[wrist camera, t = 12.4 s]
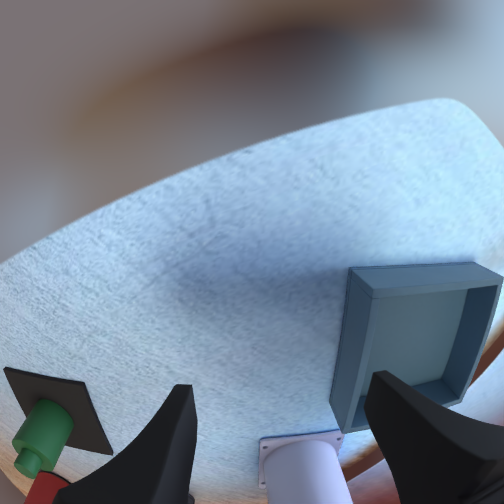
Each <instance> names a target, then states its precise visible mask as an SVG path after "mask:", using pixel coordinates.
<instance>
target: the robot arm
mask: <svg viewBox="0 0 504 504" xmlns="http://www.w3.org/2000/svg"><path fill="white" fill-rule="evenodd" d="M363 408H364V411H365V415H366V418H367V421H368V424H369V427H370V429H371V431H372V433H373V435H374V437H375V439H376V441H377V443H378V445H379V447H380V449H381V451H382V453H383V455H384V457H385V459H386V461H387V463H388V465H389V468H390V470H391V472H392V475H393V478H394V481H395V484H396V488H397V491H398V495H399V498H400V502H401V504H504V426H499V425H494V424H489V423H485V422H481V421H478V420H475V419H472V418H469V417H466V416H463V415H461V414H459V413H456V412H454V411H452V410H450V409H448V408H446V407H444V406H442V405H440V404H438V403H436V402H435V401H433V400H431V399H429V398H428V397H426V396H424V395H423V394H421V393H420V392H418V391H417V390H415V389H414V388H412V387H411V386H409V385H408V384H406V383H405V382H403V381H402V380H400V379H399V378H397V377H396V376H394V375H393V374H391V373H390V372H388V371H387V370H383V371H377V372H373V374H372V378H371V382H370V385H369V389H368V393H367V396H366V400H365V403H364V407H363ZM344 435H345V434H342V433H341V430H337V431H331V432H324V433H317V434H309V435H300V436H290V437H279V438H265V439H262V440H260V446H259V479H258V487H259V488H260V489H266V490H267V498H268V504H353V502H352V499H351V496H350V493H349V490H348V487H347V485H346V482H345V479H344V476H343V473H342V470H341V467H340V464H339V461H338V458H337V457H338V454H339V451H340V448H341V445H342V442H343V438H344ZM196 442H197V414H196V408H195V401H194V395H193V388H192V385H185V384H176V385H175V386H174V387H173V389H172V391H171V392H170V394H169V395H168V397H167V399H166V400H165V402H164V403H163V404H162V406H161V407H160V409H159V410H158V411H157V413H156V414H155V415H154V417H153V418H152V419H151V421H150V422H149V423H148V424H147V425H146V427H145V428H144V429H143V430H142V431H141V432H140V434H139V435H138V436H137V437H136V438H135V439H134V440H133V441H132V442H131V443H130V444H129V445H128V446H127V447H126V448H125V449H124V450H122V451H121V452H120V453H119V454H118V455H116V456H115V457H114V458H113V459H112V460H110V461H109V462H108V463H106V464H105V465H103V466H102V467H100V468H99V469H97V470H96V471H94V472H93V473H91V474H89V475H88V476H86V477H84V478H82V479H81V480H79V481H76V482H74V483H72V484H70V485H68V486H66V487H64V488H61V489H59V490H58V492H57V494H56V495H55V497H54V499H53V502H52V504H188V493H189V484H190V478H191V472H192V466H193V460H194V455H195V449H196Z"/></svg>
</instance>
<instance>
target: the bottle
mask: <svg viewBox="0 0 504 504" xmlns="http://www.w3.org/2000/svg"><path fill="white" fill-rule="evenodd" d="M73 427H74V423H73V420H72V418H71V416H70V415H69V414H68V412H67V411H66V410H65V409H63V408H62V407H61V406H60V405H58V404H57V403H55V402H53V401H50V400H47V399H40V400H38V402H37V403H36V404H35V406H34V407H33V409H32V410H31V412H30V413H29V415H28V417H27V418H26V420H25V421H24V423H23V424H22V426H21V427H20V429H19V431H18V432H17V434H16V435H15V437H14V439H13V440H12V445H13V447H14V449H15V450H16V452H17V453H18V454H19V455H18V457H17V458H16V460H15V462H14V466H15V468H16V469H17V470H18V471H19V472H21V473H22V474H23V475H25V476H26V477H28V478H31V479H35V478H36V476H37V474H38V472H39V470H40V469H41V470H43V471H53V469H54V467H55V465H56V463H57V461H58V458H59V456H60V454H61V452H62V450H63V448H64V446H65V444H66V441H67V439H68V437H69V435H70V433H71V431H72V429H73Z"/></svg>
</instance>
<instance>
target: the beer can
mask: <svg viewBox="0 0 504 504" xmlns="http://www.w3.org/2000/svg"><path fill="white" fill-rule="evenodd" d="M68 485H70V484H69V483H68V482H67V481H65V480H64V479H62V478H60V477H58V476H56V475H54V474H52V473H49V472H39V473H38V474H37V476H36V478H35V480H34V482H33V484H32V487H31V489H30V491H29V493H28V495H27V498H26V500H25V502H24V504H52V502H53V499H54V497H55V495H56V494H57V492H58V490H59V489H61V488H64V487H66V486H68Z"/></svg>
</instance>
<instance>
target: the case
mask: <svg viewBox="0 0 504 504" xmlns="http://www.w3.org/2000/svg"><path fill="white" fill-rule="evenodd" d="M503 279H504V277H503V276H501V275H499V274H497V273H495V272H493V271H491V270H489V269H487V268H485V267H483V266H481V265H479V264H477V263H475V262H465V263H445V264H424V265H401V266H376V267H350V268H349V276H348V285H347V294H346V303H345V310H344V318H343V325H342V332H341V339H340V346H339V352H338V358H337V364H336V370H335V375H334V381H333V386H332V391H331V396H330V401H329V403H330V405H331V408H332V410H333V413H334V415H335V418H336V420H337V423H338V425H339V428H340V430H341V433H342V434H347V433H352V432H357V431H362V430H367V429H370V427H369V424H368V421H367V418H366V415H365V411H364V408H363V407H364V403H365V400H366V396H367V393H368V389H369V385H370V382H371V378H372V374H373V372H377V371H383V370H387V371H388V372H390V373H391V374H393V375H394V376H396V377H397V378H399V379H400V380H402V381H403V382H405V383H406V384H408V385H409V386H411V387H412V388H414V389H415V390H417V391H418V392H420V393H421V394H423V395H424V396H426V397H428V398H429V399H431V400H433V401H435V402H436V403H438V404H440V405H442V406H444V407H446V408H447V407H450V406H453V405H456V404H458V403H461V402H462V400H463V397H464V395H465V393H466V391H467V389H468V386H469V384H470V382H471V379H472V377H473V374H474V372H475V370H476V367H477V365H478V361H479V359H480V357H481V354H482V351H483V349H484V346H485V343H486V340H487V337H488V334H489V331H490V328H491V325H492V321H493V318H494V315H495V311H496V307H497V304H498V300H499V296H500V292H501V288H502V284H503Z"/></svg>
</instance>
